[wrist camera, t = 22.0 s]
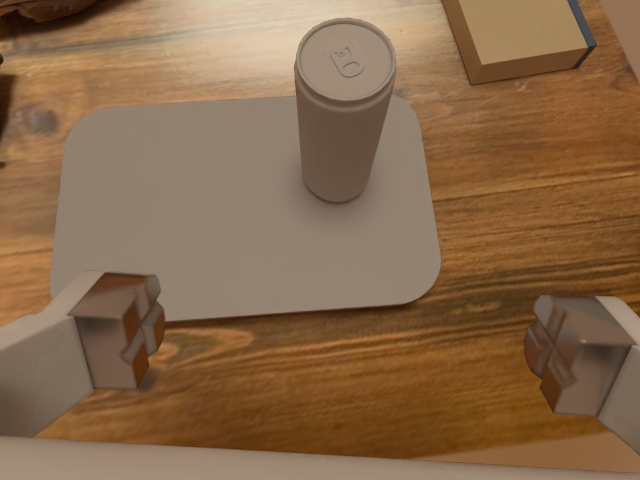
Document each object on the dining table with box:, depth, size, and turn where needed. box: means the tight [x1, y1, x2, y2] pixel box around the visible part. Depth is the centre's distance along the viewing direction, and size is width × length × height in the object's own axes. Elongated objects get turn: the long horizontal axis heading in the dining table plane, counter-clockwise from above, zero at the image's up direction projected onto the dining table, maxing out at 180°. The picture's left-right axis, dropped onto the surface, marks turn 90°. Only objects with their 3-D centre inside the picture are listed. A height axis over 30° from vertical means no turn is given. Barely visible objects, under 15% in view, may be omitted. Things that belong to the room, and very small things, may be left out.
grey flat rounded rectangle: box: [49, 94, 441, 323], centre depth 32 cm, size 16×26×2 cm, turn 94°
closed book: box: [442, 0, 597, 85], centre depth 37 cm, size 13×9×3 cm
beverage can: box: [294, 18, 396, 202], centre depth 26 cm, size 5×5×12 cm
